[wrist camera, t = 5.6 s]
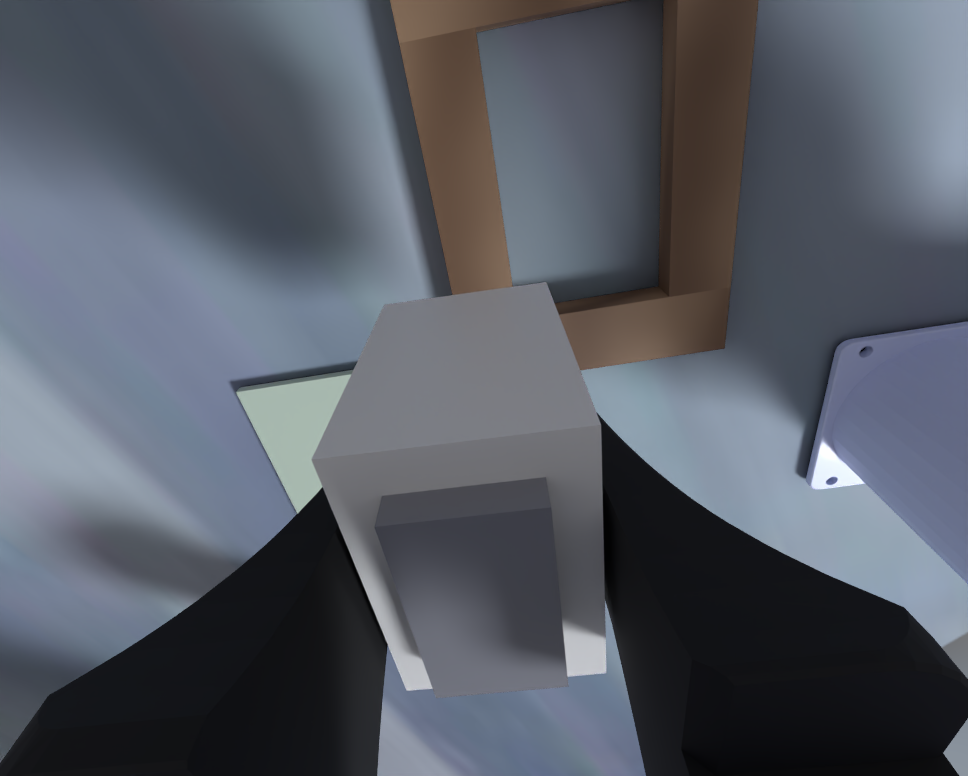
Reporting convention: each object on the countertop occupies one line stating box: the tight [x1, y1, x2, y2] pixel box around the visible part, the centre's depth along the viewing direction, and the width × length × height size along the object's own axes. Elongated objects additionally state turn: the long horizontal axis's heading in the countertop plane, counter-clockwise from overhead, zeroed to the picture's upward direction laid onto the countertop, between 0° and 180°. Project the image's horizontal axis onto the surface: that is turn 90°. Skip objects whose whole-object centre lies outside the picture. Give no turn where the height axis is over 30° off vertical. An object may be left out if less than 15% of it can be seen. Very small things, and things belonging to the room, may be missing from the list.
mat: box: [236, 370, 353, 514], centre depth 23 cm, size 10×10×1 cm
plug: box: [311, 282, 606, 698], centre depth 10 cm, size 4×6×7 cm, turn 8°
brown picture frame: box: [390, 0, 758, 370], centre depth 16 cm, size 10×14×1 cm
